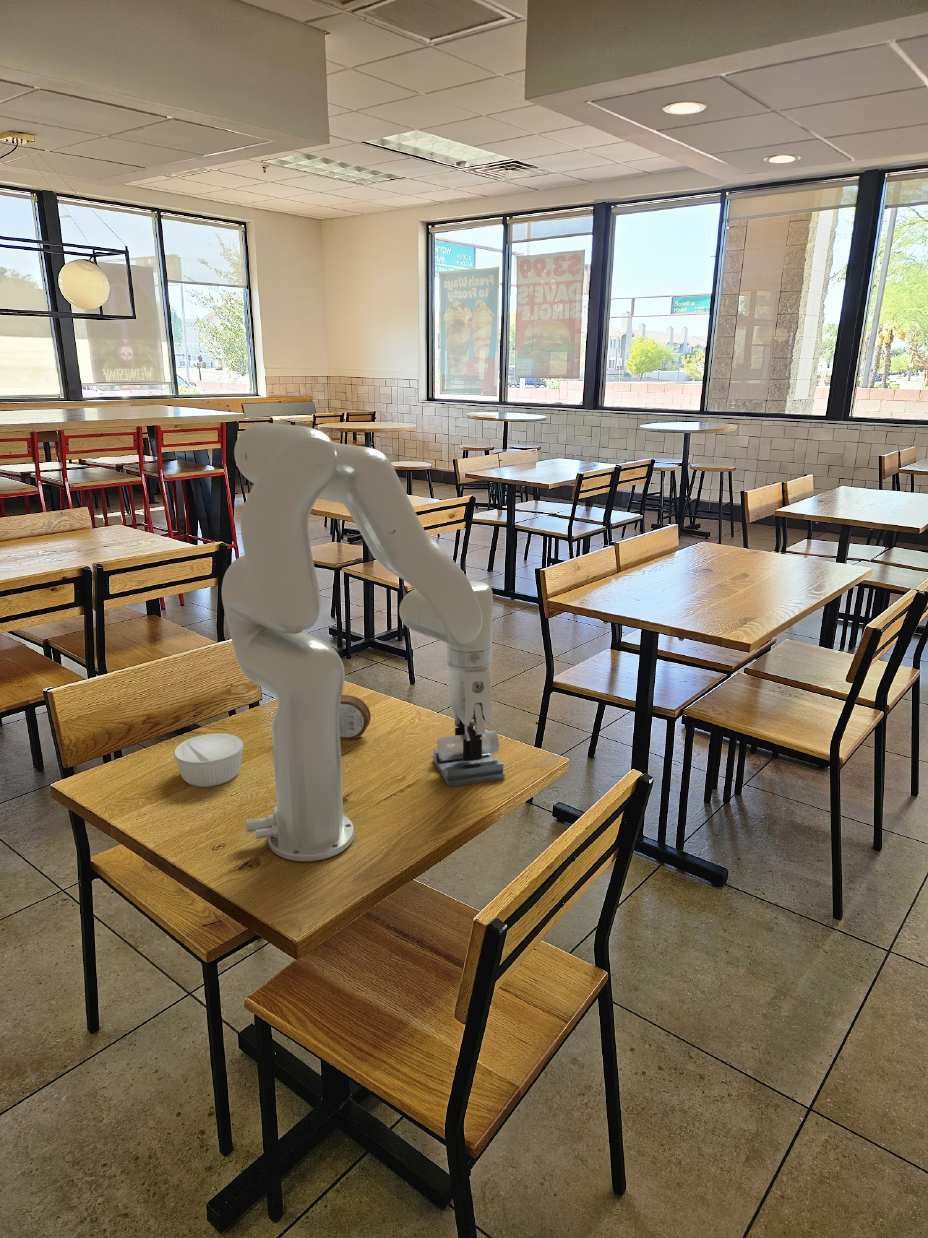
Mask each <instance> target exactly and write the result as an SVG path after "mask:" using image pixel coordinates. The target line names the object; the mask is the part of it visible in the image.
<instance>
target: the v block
mask: <svg viewBox="0 0 928 1238" xmlns="http://www.w3.org/2000/svg"><path fill="white" fill-rule="evenodd" d="M432 761H433V763H434V765H435V767H436V768H437V770H438V772H439V773H440V775H441V777H442V778H443V780H444V781H445V783H446V785H447V787H448V788H451V787H452V788H453V787H458V786H465V785H466V786H467V785H472V784H479V783H485V782H490V781H491V782H492V781H493V782H494V781H499V780H505V777H506V773H505V772H504V763H503V761H502V760H501V759H496V760H495V758H494V757H493V756H492V754H489V755H482V758H481V759H480V760H474V761H467V762H465V761H464V760H463V758H459V759H452V760H445V761H441V760H440V758H439V755H438V749H434V750H433V755H432Z"/></svg>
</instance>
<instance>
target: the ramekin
mask: <svg viewBox="0 0 928 1238" xmlns="http://www.w3.org/2000/svg"><path fill="white" fill-rule="evenodd" d="M243 751H244V742H243V740H241V738H240V737H238V736H236V735H233V734H230V733H220V732H219V733H217V732H216V733H208V734H202V735H201V734H200V735H197V736H193V737H191V738H188V739H186V740H184V741H182V742H181V743H179V745H177V747H176V748H175V749H174V751H173V752H174V753H173V756H174V760H175V761H176V763H177V767H178V769H179V771H180V775H181V777H182V780H183V781H185V782H186V783H188V785H191V786H194V787H200V788H201V787H202V788H206V787H208V788H209V787H215V786H218V785H219V786H220V785H222V784H225V783H227V782H230V781H232V780H233V779H234V778H235V777H236V776H237V775H238V774H239V772H240V770H241V765H242V756H243Z"/></svg>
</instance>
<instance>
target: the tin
mask: <svg viewBox="0 0 928 1238" xmlns="http://www.w3.org/2000/svg"><path fill="white" fill-rule="evenodd" d="M371 718H372V716H371V712H370V709H369V706H368V705H367V704H366V703H365V702H364V701H363V700H362V699H361V698H359V697H356V696H354V695H350V694H349V695H347V694H342V696H341V703H340V740H354V739H356V738H359V737H361V736H362V735H363V734H364V733H365V732H366V730H367V729H368V727H369V725H370V723H371Z"/></svg>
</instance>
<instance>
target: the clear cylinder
mask: <svg viewBox="0 0 928 1238" xmlns="http://www.w3.org/2000/svg"><path fill="white" fill-rule="evenodd" d="M482 736H483V739H482V755H489V754H490V755H494V754H498V753H499V749H500V742H499V737H498V734H497V731H495V730H488V731H487V730H485V734H483V735H482ZM463 739H465V734H463V735H455V734H454V735H449V736H448V735H447V736H442V737H438V738H437V741H436V743H437V744H436V747H437V749H438V755H439V758H440V760H441V761H445V760H452V759H459V758H463Z"/></svg>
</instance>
